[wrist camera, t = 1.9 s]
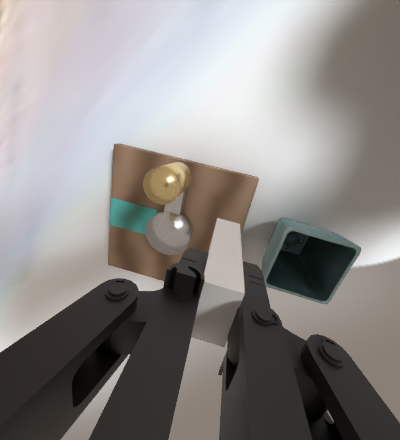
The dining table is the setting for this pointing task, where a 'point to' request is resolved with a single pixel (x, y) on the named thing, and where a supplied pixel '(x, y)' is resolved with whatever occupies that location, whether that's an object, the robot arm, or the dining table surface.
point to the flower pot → (307, 260)
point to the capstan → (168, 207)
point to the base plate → (145, 208)
